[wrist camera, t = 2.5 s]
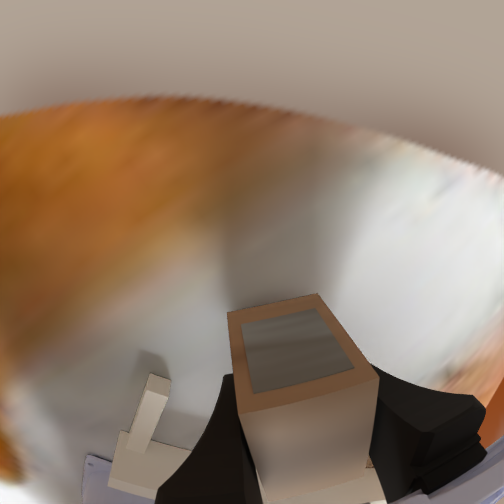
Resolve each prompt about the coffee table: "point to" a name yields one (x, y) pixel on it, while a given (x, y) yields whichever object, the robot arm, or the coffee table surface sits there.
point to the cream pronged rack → (170, 458)
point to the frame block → (301, 396)
